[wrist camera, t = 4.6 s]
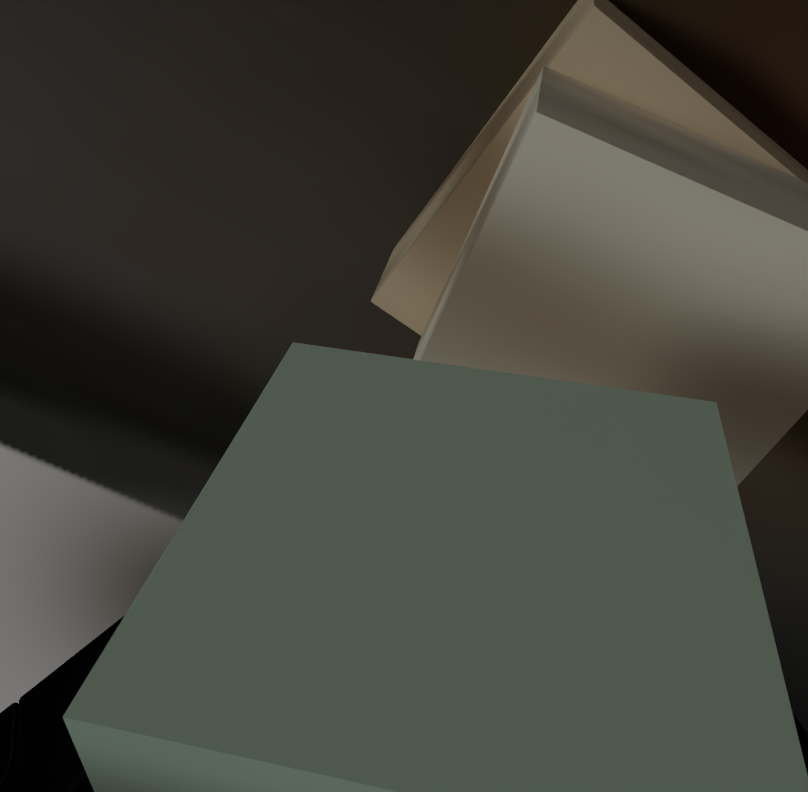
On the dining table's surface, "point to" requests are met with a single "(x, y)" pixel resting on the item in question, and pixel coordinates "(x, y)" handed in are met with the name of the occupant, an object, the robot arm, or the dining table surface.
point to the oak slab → (470, 179)
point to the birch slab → (635, 266)
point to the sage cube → (449, 600)
